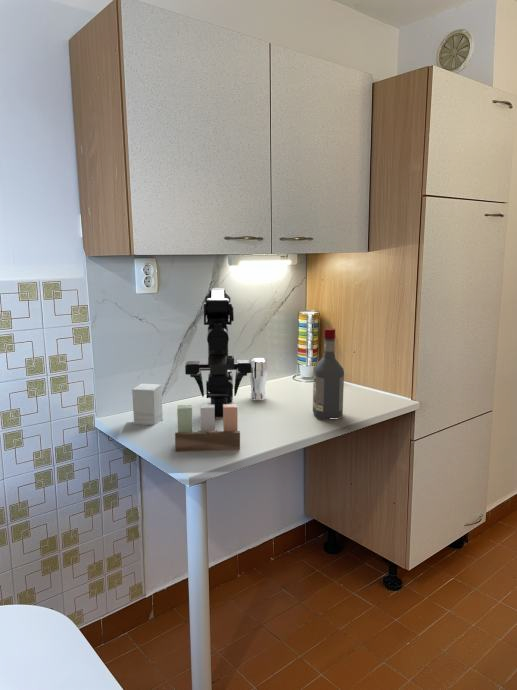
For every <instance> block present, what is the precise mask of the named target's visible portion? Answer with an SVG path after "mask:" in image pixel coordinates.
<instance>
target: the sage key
mask: <svg viewBox="0 0 517 690" xmlns="http://www.w3.org/2000/svg"><path fill="white" fill-rule="evenodd" d="M176 410H177V411H176V412H177V413H176V414H177V415H176V416H177V432H193V405H192V404H179V405H177V409H176Z"/></svg>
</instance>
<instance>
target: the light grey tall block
mask: <svg viewBox="0 0 517 690" xmlns="http://www.w3.org/2000/svg"><path fill="white" fill-rule="evenodd" d="M199 412H200V431H205V430H207V432H209V430H216V428H215V427H216V426H215V425H216V424H215V422H216V419H215V417H216V416H215V405H211V404H200V410H199Z"/></svg>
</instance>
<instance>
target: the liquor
mask: <svg viewBox="0 0 517 690" xmlns="http://www.w3.org/2000/svg"><path fill="white" fill-rule="evenodd" d="M323 334H324V335H323V338H324V346H323V347H324V350H323V351H324V352H323V354H322V355H323V356H322V358H321V359H320V360H319V361H318V362H317V363H316V364H315V365H314V367H313V381H312V382H313V383H312V384H313V386H312V413H313V414H315V415H314V416H315V417H316V418H317V419H318V418H321V419H320V420H322V419H330V418H339V417H341V416H343V412H344V385H345V371H344V368H343V366H342V365H341V364H340V363H339V361H338V360H337V358H336V355H335V339H336V328H327V327H326V328H324V333H323ZM341 418H342V417H341ZM339 419H340V418H339Z"/></svg>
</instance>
